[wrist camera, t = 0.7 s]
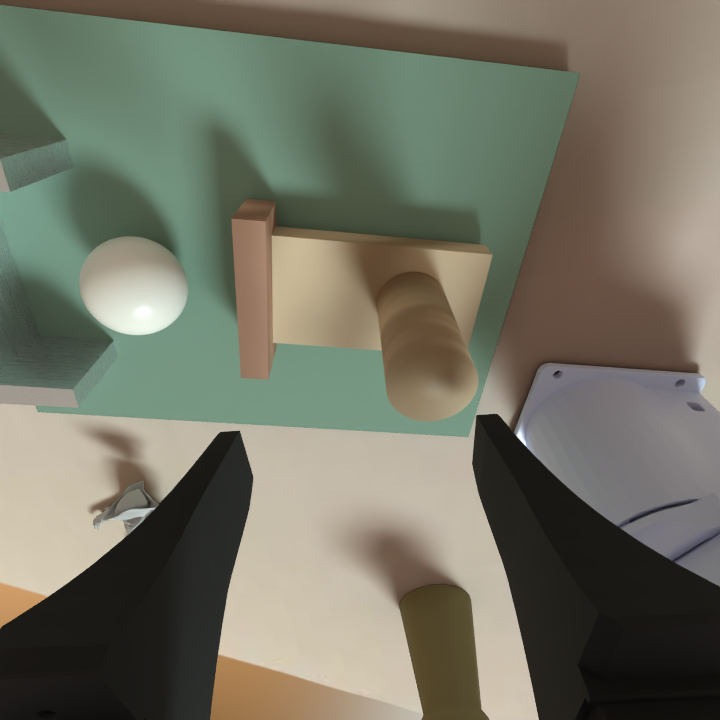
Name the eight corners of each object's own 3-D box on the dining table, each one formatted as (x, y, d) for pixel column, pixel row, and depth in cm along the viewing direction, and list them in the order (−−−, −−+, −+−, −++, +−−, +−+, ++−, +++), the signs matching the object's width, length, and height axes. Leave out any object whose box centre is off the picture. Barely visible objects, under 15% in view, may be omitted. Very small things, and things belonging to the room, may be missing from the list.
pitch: (569, 72, 17) (580, 72, 17) (464, 425, 27) (468, 437, 26) (-99, -7, 16) (-124, -10, 15) (48, 400, 26) (37, 412, 25)
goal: (66, 139, 17) (-1, 158, 14) (117, 357, 23) (78, 408, 20) (-58, 127, 17) (-156, 144, 14) (24, 350, 23) (-32, 401, 19)
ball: (194, 227, 19) (162, 262, 16) (203, 310, 22) (176, 357, 18) (97, 219, 19) (44, 252, 16) (116, 304, 21) (73, 350, 18)
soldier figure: (122, 555, 36) (35, 498, 26) (176, 512, 38) (114, 443, 28) (174, 637, 32) (96, 604, 23) (231, 584, 34) (181, 534, 25)
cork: (395, 588, 37) (411, 763, 28) (470, 580, 36) (511, 755, 27) (403, 625, 40) (419, 792, 31) (471, 618, 40) (508, 786, 31)
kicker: (490, 221, 19) (556, 296, 13) (455, 358, 23) (493, 466, 17) (246, 198, 18) (195, 266, 12) (252, 344, 22) (215, 451, 16)
